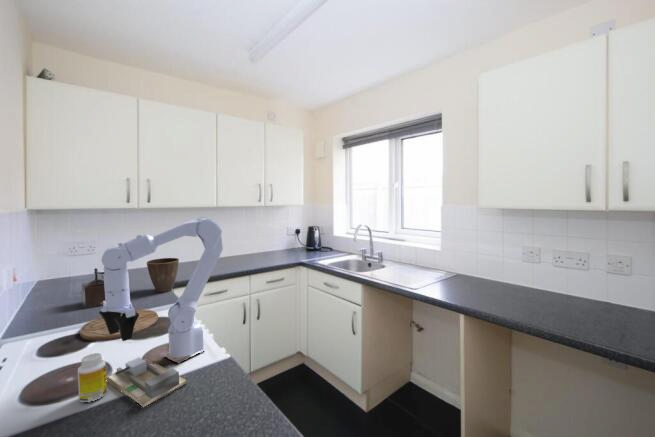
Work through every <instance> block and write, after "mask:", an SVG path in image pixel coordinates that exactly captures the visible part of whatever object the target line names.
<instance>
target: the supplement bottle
mask: <svg viewBox="0 0 655 437" xmlns="http://www.w3.org/2000/svg"><path fill="white" fill-rule="evenodd" d="M106 376H107V365H106V361H105V360H103V359H102V353H99V352H95V353H90V354H88V355H85V356H84V357H82V359H81V365H80V366H79V367H78V368H77V384H78V387H77V388H78V401H79V402H80V403H83V402H88V403H92V402H91V401H93V402H96V401H98V400H100V399H102V398H103V397H104V396H105V395H106V394H107V391H108V389H107V388H108V387H107V383H108V382H107V381H106ZM101 397H102V398H101ZM97 399H98V400H97ZM95 400H96V401H95Z"/></svg>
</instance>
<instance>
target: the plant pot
mask: <svg viewBox="0 0 655 437" xmlns="http://www.w3.org/2000/svg"><path fill="white" fill-rule="evenodd" d="M179 262H180V260H179V258H178V257H164V258H163V257H162V258H155V259H151V260H148V261H146V266H147V272H148V274H149V278H150V280H151V283H152V284H153V287H154V289H155V291H156V293H168V292H171V291H172V290H173V289H174V286H175V282H176V279H177V275H178V269H179Z"/></svg>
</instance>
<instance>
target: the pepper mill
mask: <svg viewBox="0 0 655 437" xmlns="http://www.w3.org/2000/svg"><path fill="white" fill-rule="evenodd" d="M93 273H94V275H95V276H94V279H92V280H91V281H90V282H86V283H82V284H81V295H82V305H83V307H84V308H85V309H92V308H97V307H101V306H103V301H105V288H104V279H103V278H102V279H99V278H98V274H99V275H104V274H105V273H104V271H103V272H101V271H98V268H97V267H95V268H94V272H93Z"/></svg>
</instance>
